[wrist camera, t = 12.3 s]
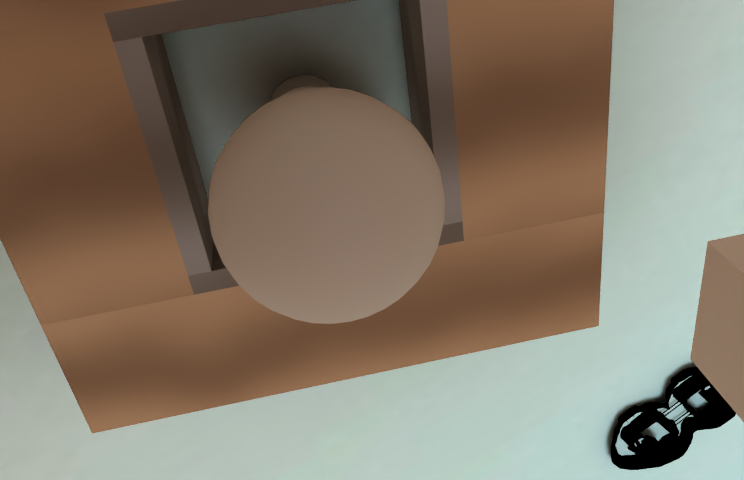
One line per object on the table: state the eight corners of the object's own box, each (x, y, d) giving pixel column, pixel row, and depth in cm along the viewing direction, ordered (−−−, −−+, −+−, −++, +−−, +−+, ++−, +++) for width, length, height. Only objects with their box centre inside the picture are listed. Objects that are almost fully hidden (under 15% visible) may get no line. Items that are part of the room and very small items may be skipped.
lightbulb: (394, 17, 24) (492, 144, 15) (381, 178, 27) (455, 366, 18) (211, 11, 23) (195, 144, 14) (219, 180, 26) (210, 381, 17)
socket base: (-130, -177, 19) (-196, -177, 16) (572, -279, 21) (628, -296, 18) (106, 372, 30) (92, 433, 27) (563, 277, 31) (598, 325, 28)
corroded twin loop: (754, 382, 37) (767, 396, 36) (634, 471, 39) (643, 486, 38) (707, 335, 35) (719, 349, 34) (582, 433, 37) (590, 448, 36)
